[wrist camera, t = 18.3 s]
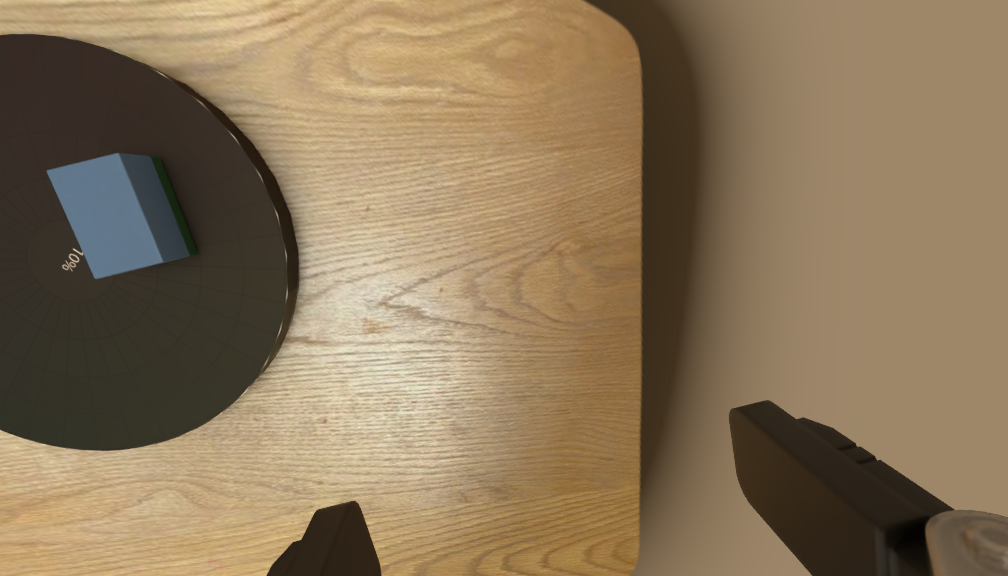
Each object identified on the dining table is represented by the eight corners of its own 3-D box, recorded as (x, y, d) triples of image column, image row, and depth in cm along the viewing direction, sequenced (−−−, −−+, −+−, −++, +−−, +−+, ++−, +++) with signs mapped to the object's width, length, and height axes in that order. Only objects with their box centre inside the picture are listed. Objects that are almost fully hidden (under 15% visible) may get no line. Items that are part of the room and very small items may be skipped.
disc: (215, 486, 41) (196, 509, 38) (-162, 336, 36) (-218, 348, 33) (364, 177, 37) (354, 176, 34) (-44, -40, 32) (-96, -64, 29)
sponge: (96, 172, 32) (45, 170, 28) (160, 156, 32) (117, 152, 28) (137, 269, 34) (94, 279, 30) (198, 253, 34) (163, 262, 30)
